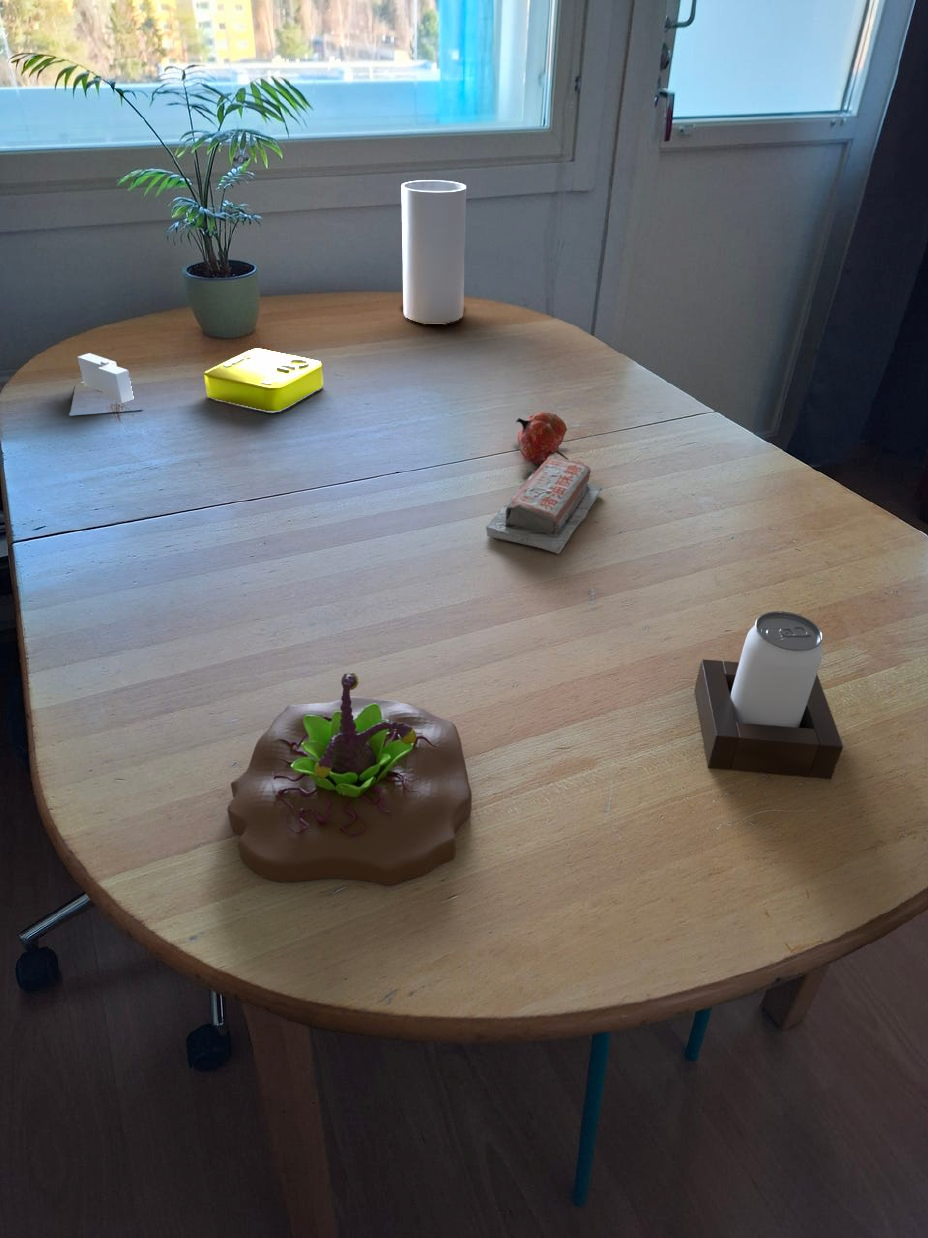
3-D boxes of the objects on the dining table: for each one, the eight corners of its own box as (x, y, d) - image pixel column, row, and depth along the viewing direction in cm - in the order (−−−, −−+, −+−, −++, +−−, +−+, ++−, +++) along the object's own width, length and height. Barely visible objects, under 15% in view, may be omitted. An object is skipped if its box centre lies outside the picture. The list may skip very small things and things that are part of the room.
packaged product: (536, 448, 120) (605, 462, 117) (533, 480, 123) (601, 494, 120) (485, 503, 107) (563, 521, 104) (484, 538, 110) (559, 556, 107)
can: (711, 713, 84) (737, 611, 77) (773, 706, 85) (805, 605, 78) (740, 760, 79) (771, 656, 72) (806, 752, 80) (843, 649, 73)
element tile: (257, 370, 155) (254, 343, 153) (328, 386, 150) (326, 358, 147) (201, 398, 144) (197, 370, 142) (276, 416, 139) (273, 387, 136)
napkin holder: (73, 383, 148) (65, 349, 145) (143, 377, 151) (137, 344, 148) (68, 417, 137) (59, 381, 134) (144, 410, 140) (137, 375, 136)
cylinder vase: (433, 330, 176) (434, 194, 162) (391, 316, 183) (388, 184, 169) (475, 317, 184) (479, 186, 169) (433, 304, 191) (433, 177, 176)
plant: (474, 719, 82) (479, 623, 76) (467, 892, 67) (472, 790, 60) (264, 709, 83) (250, 613, 76) (207, 880, 67) (183, 776, 60)
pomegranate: (555, 461, 133) (505, 420, 130) (588, 431, 129) (537, 388, 126) (549, 488, 128) (497, 446, 125) (583, 457, 123) (530, 412, 120)
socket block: (805, 699, 86) (815, 668, 84) (831, 779, 77) (843, 746, 75) (693, 690, 87) (701, 658, 84) (707, 768, 78) (716, 735, 76)
